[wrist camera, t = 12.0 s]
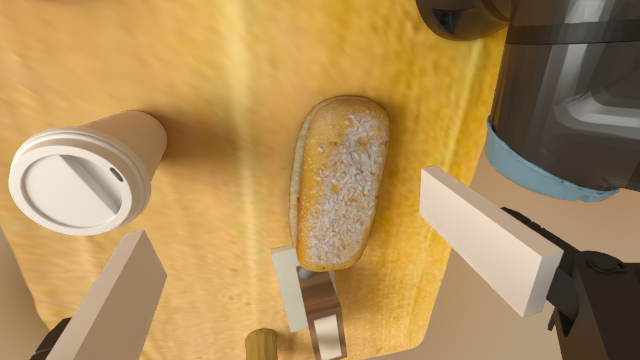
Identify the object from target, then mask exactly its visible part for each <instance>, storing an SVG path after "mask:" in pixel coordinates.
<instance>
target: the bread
mask: <svg viewBox="0 0 640 360" xmlns="http://www.w3.org/2000/svg"><path fill="white" fill-rule="evenodd" d="M389 141H390V121H389V115H388V113H387V112H386V110H385V109H384V108H383V107H382V106H380V105H379V104H377V103H375V102H372V101H371V100H369V99H367V98H364V97H359V96H336V97H334V98H330V99H326V100H324V101H322V102H320V103H319V104H317V105H316V106H315V107H314V108H312V110H311V111H310V112H309V114H308V115H307V116H306V118H305V119H304V121H303V123H302V125H301V129H300V132H299V135H298V138H297V143H296V147H295V152H294V160H293V166H292V173H291V178H290V193H289V196H290V199H289V225H290V233H291V238H292V243H293V246H294V248H295V250H296V254H297V259H298V261H299V263H300V265H301V266H302V267H303V268H305V269H306V270H309V271H316V272H325V271H331V270H339V269H344V268H348V267H351V266H352V265H354V264H355V263H356V262H357V261H358V260H359V259H360V257H361V255H362V253H363V251H364V249H365V246H366V244H367V240H368V238H369V236H370V232H371V229H372V225H373V222H374V218H375V215H376V212H377V204H378V197H379V192H380V187H381V182H382V177H383V171H384V165H385V162H386V158H387V154H388V150H389Z"/></svg>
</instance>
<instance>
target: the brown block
mask: <svg viewBox="0 0 640 360" xmlns="http://www.w3.org/2000/svg"><path fill="white" fill-rule="evenodd" d="M300 268H301V267H300V266H297V267H296V271H297V275H298V280H299V285H300V289H301V294H302V299H303V303H304V308H305V313H306V317H307V322H308V327H309V331H310V336H311V340H312V345H313V349H314V354H315V359H316V360H339V359H343V358H346V357H347V351H346V343H345V336H344V328H343V320H342V313H341V306H340V303H339V300H338V298H337V295H336V292H335V289H334V286H333V283H332V281H331V278H330V275H329V272H328V271H325V272H316V271H315V274H314V276H313V277H312V278H310V279H302V278H301V277H300V275H299V270H300Z"/></svg>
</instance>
